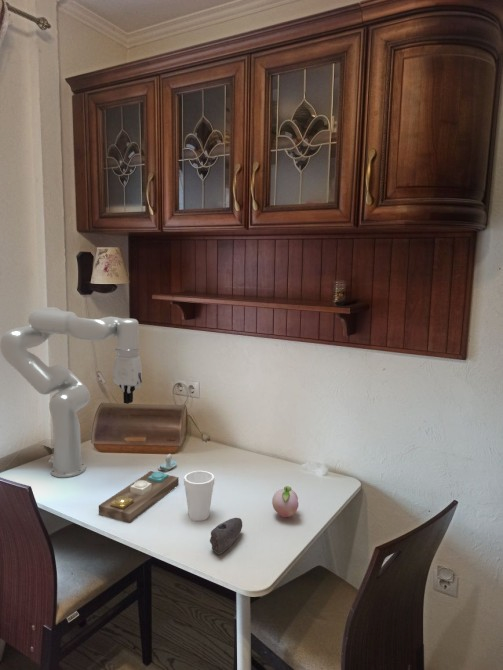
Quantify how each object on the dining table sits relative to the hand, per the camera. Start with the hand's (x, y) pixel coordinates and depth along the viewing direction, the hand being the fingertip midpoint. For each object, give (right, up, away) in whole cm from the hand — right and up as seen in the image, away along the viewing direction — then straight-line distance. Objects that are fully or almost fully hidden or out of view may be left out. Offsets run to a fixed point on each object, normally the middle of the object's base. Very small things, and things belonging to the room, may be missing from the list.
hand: (128, 402), depth 174 cm
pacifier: (+12, -28, +12) cm, 33 cm away
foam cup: (+28, -33, -22) cm, 49 cm away
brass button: (+3, -31, -21) cm, 38 cm away
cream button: (+7, -29, -12) cm, 32 cm away
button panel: (+7, -31, -12) cm, 34 cm away
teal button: (+11, -29, -3) cm, 31 cm away
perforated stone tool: (+38, -36, -37) cm, 64 cm away
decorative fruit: (+55, -34, -21) cm, 68 cm away
